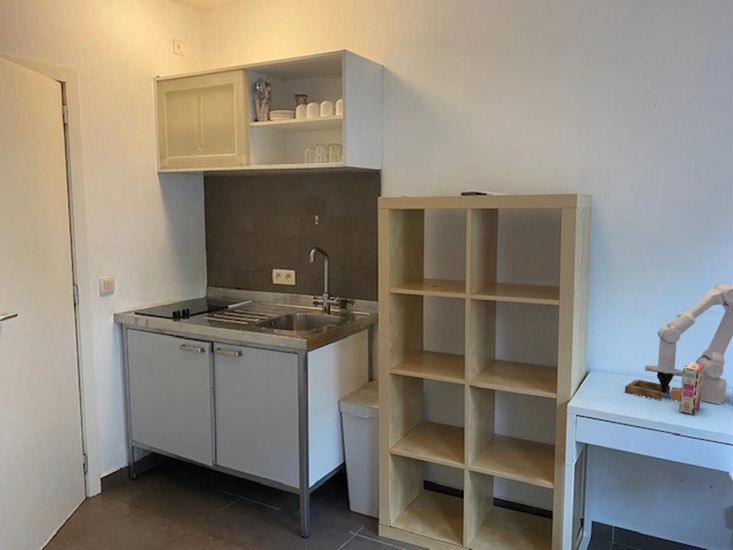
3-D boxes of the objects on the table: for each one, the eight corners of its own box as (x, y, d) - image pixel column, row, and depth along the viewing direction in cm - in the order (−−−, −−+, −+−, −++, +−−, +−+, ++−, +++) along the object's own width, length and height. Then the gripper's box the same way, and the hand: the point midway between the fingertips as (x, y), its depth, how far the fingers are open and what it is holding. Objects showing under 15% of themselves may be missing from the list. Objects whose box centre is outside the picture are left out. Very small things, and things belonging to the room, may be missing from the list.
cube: (683, 399, 225) (684, 389, 225) (682, 402, 222) (683, 391, 222) (671, 397, 228) (672, 387, 227) (670, 400, 224) (671, 389, 224)
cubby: (669, 393, 231) (670, 386, 231) (660, 400, 223) (660, 392, 223) (635, 386, 240) (635, 378, 240) (624, 392, 232) (625, 385, 231)
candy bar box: (694, 416, 208) (698, 370, 206) (678, 412, 211) (682, 367, 209) (700, 407, 216) (704, 363, 214) (685, 404, 219) (689, 361, 217)
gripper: (690, 358, 224) (687, 393, 226) (648, 352, 233) (646, 385, 235) (686, 362, 219) (683, 398, 221) (644, 356, 227) (642, 390, 229)
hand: (664, 392), depth 227 cm, fingers closed
